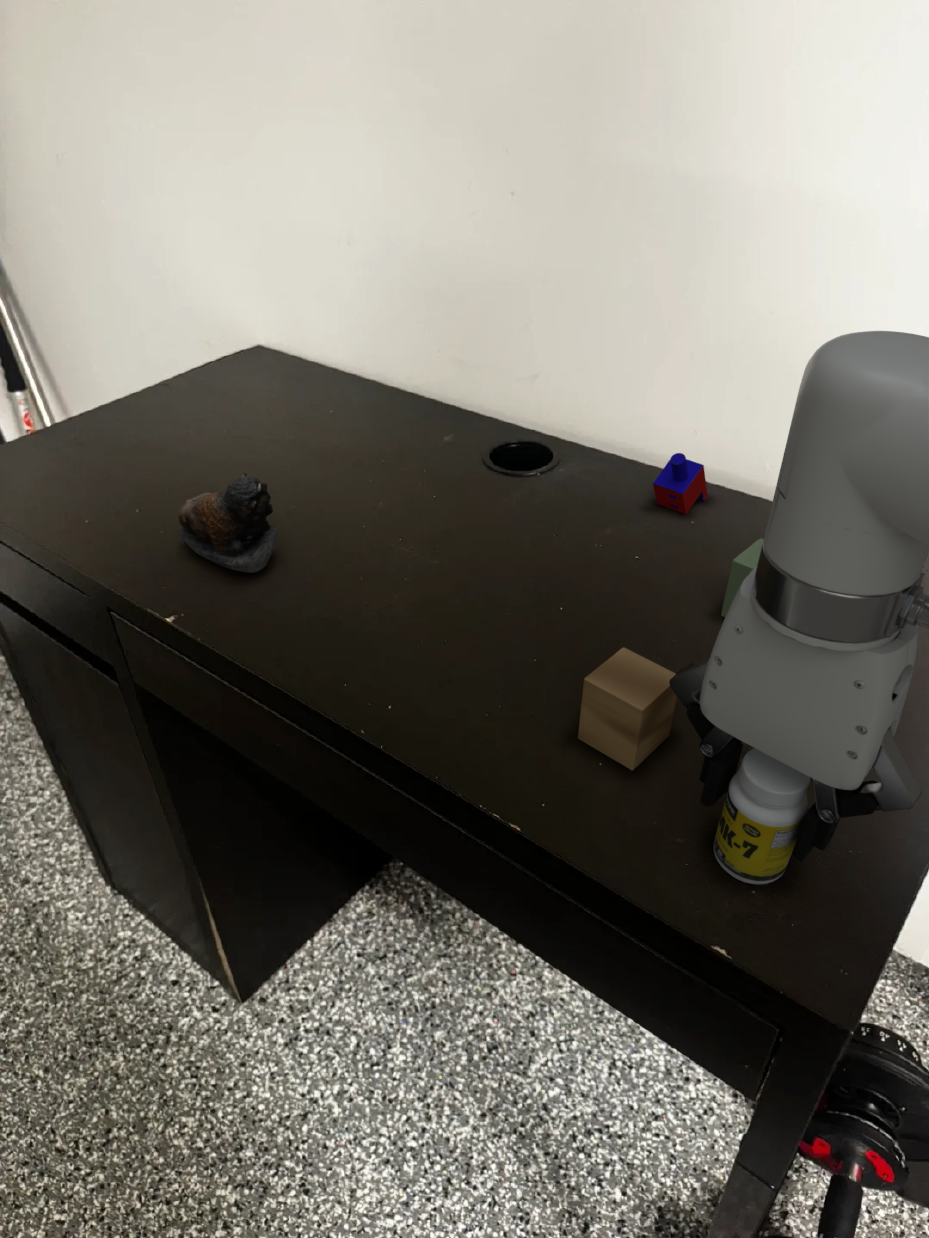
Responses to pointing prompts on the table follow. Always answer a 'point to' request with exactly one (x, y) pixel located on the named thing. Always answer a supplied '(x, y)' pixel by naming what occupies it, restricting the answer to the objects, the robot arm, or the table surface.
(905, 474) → the robot arm
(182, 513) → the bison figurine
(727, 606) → the sage block
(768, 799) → the supplement bottle
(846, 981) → the table surface
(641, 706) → the oak block
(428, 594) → the table surface
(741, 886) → the table surface
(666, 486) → the toy building block
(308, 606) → the table surface
